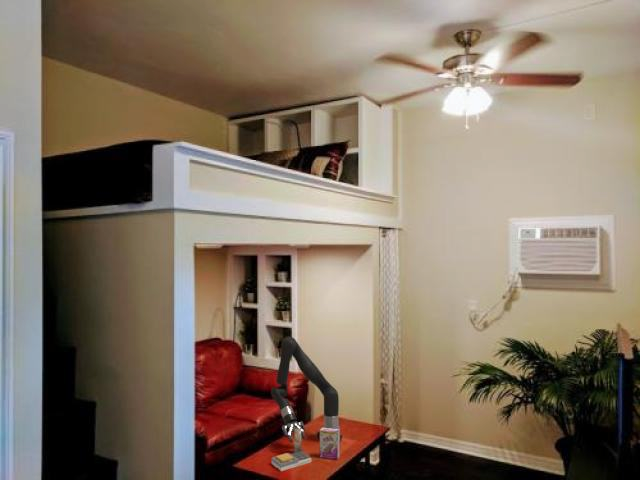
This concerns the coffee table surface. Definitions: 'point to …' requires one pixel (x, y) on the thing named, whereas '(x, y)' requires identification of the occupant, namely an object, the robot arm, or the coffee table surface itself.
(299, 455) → the keyboard
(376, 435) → the coffee table surface
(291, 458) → the amber key
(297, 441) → the beige rounded cylinder
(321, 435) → the candy bar box
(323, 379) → the robot arm
